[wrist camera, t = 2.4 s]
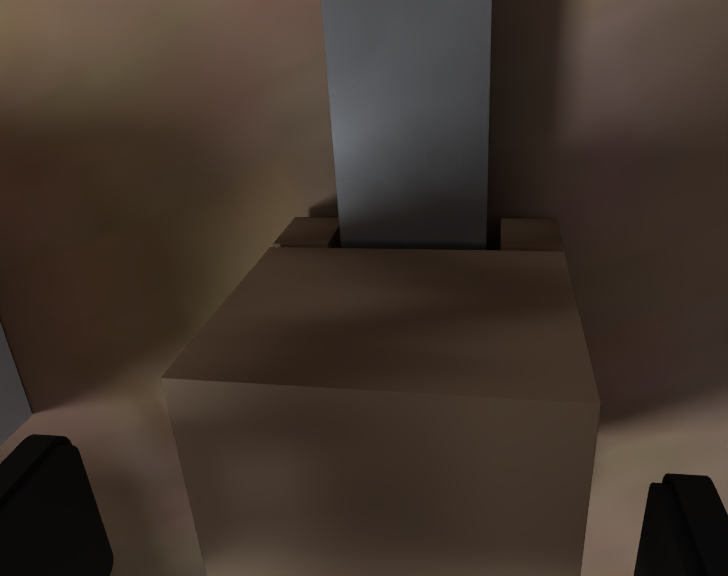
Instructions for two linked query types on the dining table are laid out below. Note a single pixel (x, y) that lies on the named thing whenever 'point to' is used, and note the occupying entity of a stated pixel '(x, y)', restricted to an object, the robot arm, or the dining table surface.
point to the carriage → (391, 411)
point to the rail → (410, 121)
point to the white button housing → (10, 393)
